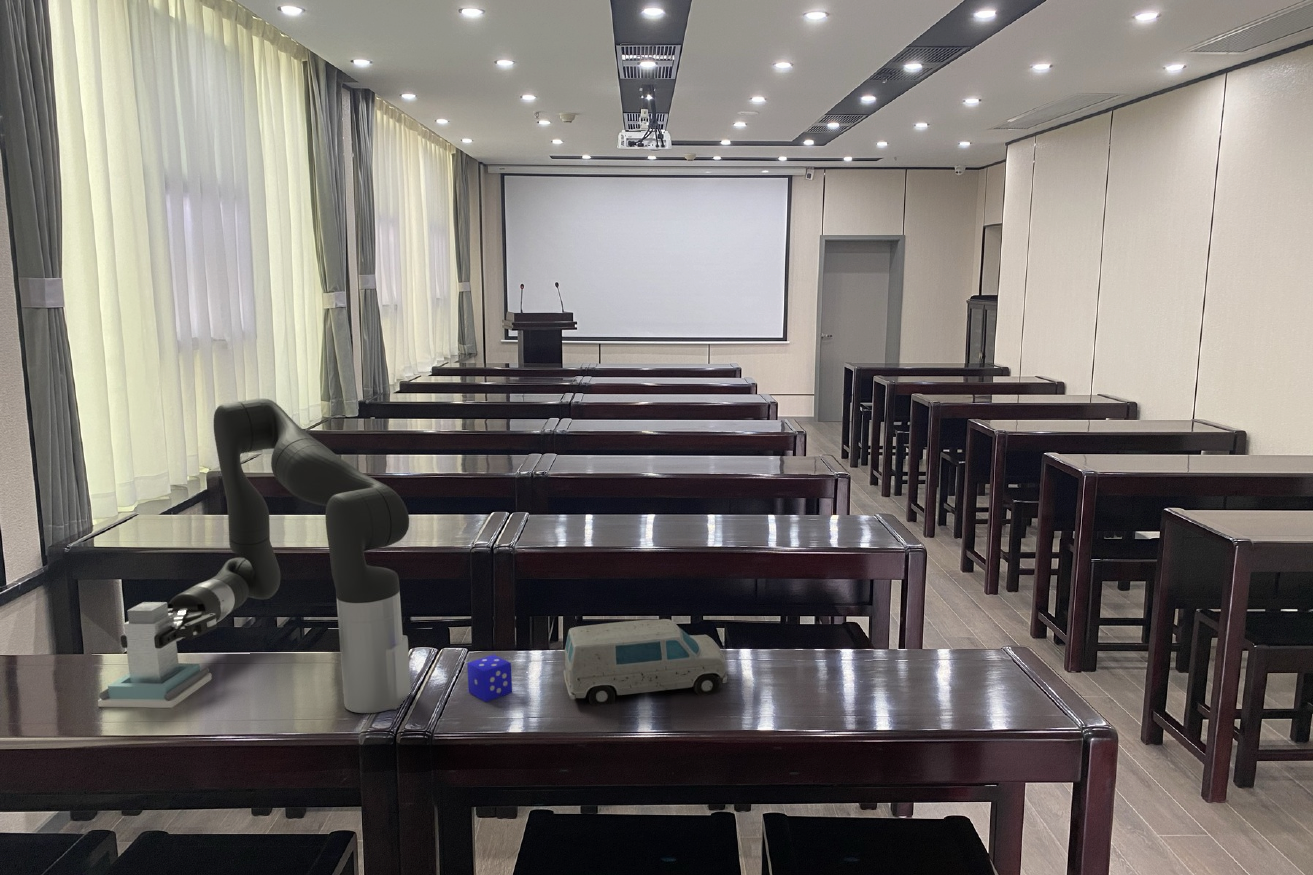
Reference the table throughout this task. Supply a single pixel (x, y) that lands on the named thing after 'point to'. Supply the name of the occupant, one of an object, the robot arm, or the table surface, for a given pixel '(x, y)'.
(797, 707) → the table surface
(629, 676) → the toy car
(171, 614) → the stepped metal tower
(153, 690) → the tray
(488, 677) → the die
